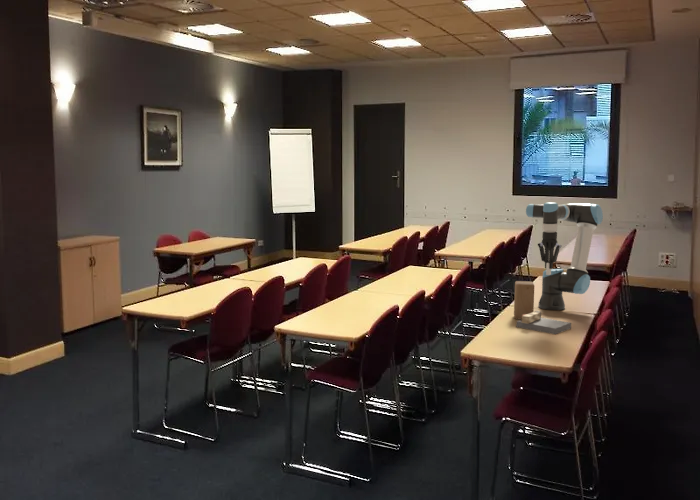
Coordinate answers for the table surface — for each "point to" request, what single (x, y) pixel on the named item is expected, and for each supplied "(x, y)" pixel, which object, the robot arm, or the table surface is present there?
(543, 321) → the stool seat
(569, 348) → the table surface
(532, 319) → the folding leg
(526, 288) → the wooden block
